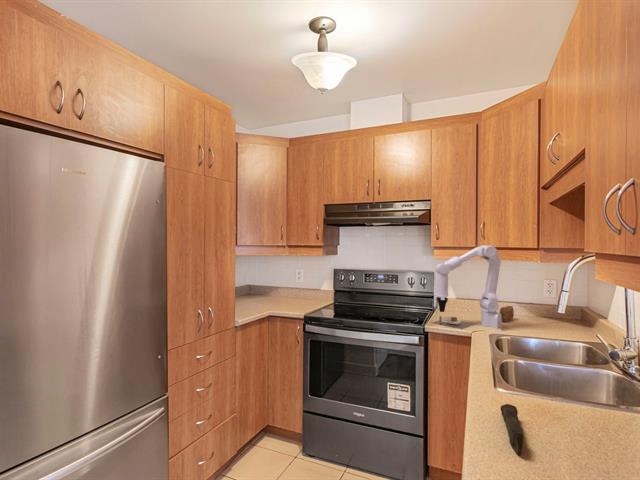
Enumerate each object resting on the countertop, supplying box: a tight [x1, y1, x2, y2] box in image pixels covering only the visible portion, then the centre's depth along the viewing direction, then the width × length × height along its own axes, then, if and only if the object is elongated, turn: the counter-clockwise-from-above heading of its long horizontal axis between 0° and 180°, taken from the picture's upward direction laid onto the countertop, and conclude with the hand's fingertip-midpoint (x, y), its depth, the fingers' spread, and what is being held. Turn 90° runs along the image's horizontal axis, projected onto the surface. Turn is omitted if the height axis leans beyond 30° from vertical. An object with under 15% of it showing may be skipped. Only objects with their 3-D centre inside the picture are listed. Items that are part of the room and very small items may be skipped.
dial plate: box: [431, 319, 477, 330], centre depth 202 cm, size 18×18×1 cm
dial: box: [438, 315, 462, 325], centre depth 202 cm, size 11×7×3 cm, turn 74°
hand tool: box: [500, 403, 524, 456], centre depth 90 cm, size 19×4×5 cm, turn 157°
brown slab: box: [498, 305, 515, 323], centre depth 215 cm, size 15×3×8 cm, turn 132°
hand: (441, 311), depth 198 cm, fingers closed
